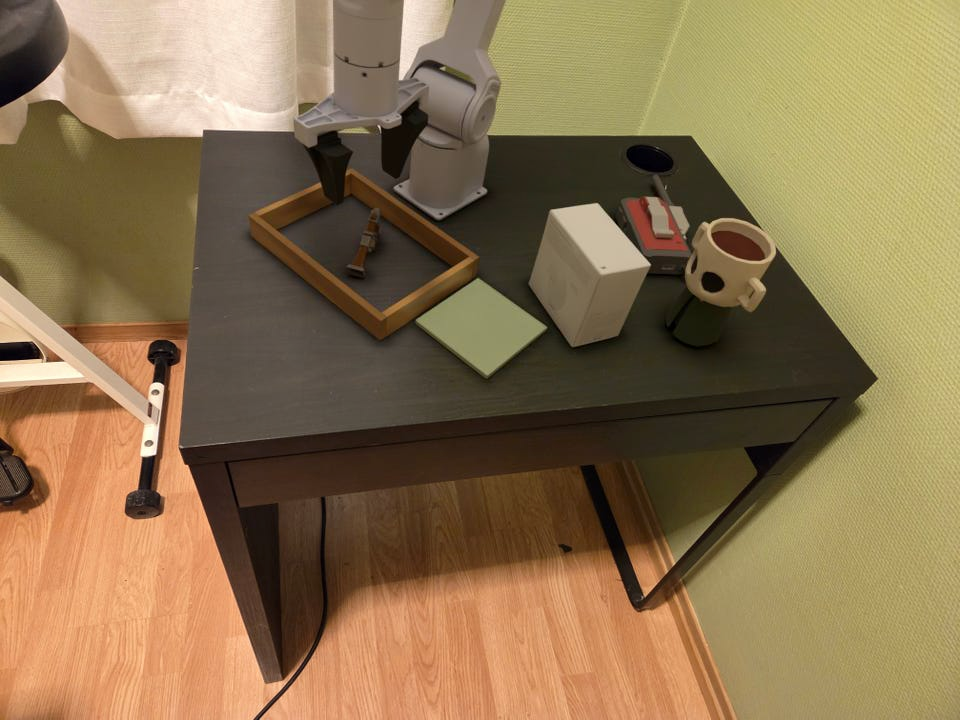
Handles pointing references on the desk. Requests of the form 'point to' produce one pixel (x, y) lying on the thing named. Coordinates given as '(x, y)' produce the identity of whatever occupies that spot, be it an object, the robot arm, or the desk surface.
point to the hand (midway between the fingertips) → (363, 186)
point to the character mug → (720, 278)
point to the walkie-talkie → (656, 230)
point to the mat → (481, 327)
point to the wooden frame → (335, 290)
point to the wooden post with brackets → (366, 244)
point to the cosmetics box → (587, 273)
